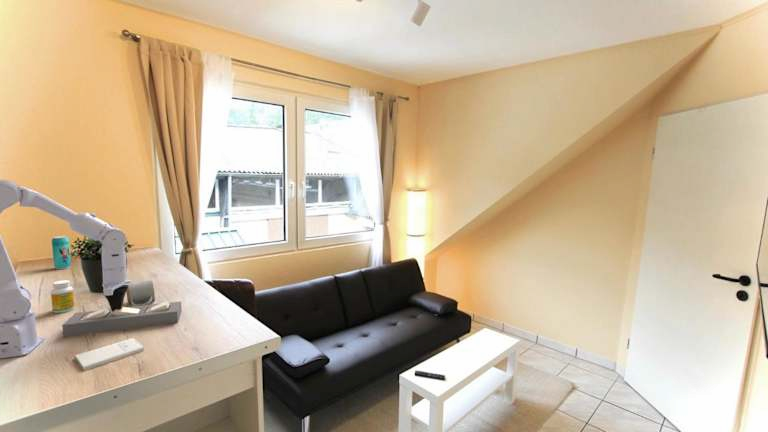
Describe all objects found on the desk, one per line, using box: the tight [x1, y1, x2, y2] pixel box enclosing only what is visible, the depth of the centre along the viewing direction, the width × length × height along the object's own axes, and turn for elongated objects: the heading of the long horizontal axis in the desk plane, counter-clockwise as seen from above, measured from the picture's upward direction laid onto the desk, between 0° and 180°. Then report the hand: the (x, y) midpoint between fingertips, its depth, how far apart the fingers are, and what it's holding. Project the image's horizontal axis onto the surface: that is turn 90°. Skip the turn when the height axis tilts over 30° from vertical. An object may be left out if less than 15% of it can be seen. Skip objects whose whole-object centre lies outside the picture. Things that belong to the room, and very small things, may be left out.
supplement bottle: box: [50, 279, 75, 314], centre depth 115 cm, size 5×5×10 cm
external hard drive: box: [74, 337, 145, 371], centre depth 89 cm, size 2×8×12 cm
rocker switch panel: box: [61, 301, 183, 338], centre depth 107 cm, size 9×28×4 cm, turn 114°
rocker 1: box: [81, 307, 109, 320], centre depth 103 cm, size 4×6×2 cm, turn 114°
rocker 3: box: [146, 300, 170, 312], centre depth 110 cm, size 4×6×2 cm, turn 114°
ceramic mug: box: [125, 279, 156, 307], centre depth 122 cm, size 11×8×8 cm
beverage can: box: [51, 235, 72, 270], centre depth 160 cm, size 6×6×15 cm
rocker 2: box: [113, 306, 140, 316], centre depth 106 cm, size 4×6×2 cm, turn 114°
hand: (117, 310), depth 105 cm, fingers closed, pressing on rocker 2
